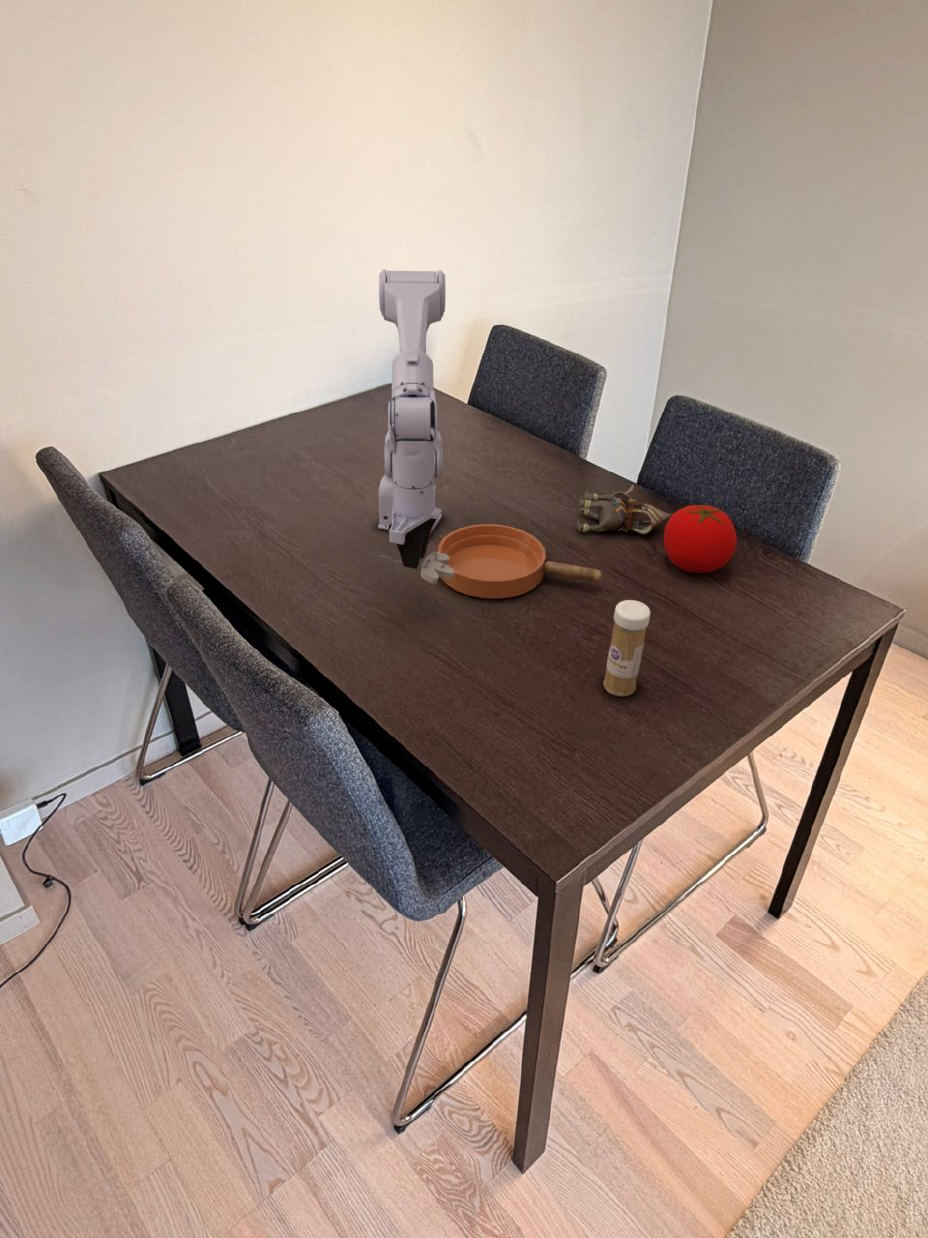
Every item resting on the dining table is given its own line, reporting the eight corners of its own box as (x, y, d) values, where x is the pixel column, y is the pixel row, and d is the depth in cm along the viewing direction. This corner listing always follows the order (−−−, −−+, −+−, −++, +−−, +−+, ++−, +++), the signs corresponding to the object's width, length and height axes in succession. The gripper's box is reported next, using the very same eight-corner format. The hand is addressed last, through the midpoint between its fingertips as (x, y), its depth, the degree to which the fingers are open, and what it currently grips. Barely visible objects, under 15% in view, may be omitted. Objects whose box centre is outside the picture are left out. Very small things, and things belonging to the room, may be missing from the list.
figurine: (586, 469, 163) (677, 481, 161) (582, 499, 166) (671, 510, 164) (576, 514, 147) (678, 527, 144) (572, 546, 150) (671, 560, 147)
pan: (422, 588, 139) (422, 569, 137) (455, 534, 153) (456, 516, 151) (529, 609, 135) (531, 589, 133) (553, 552, 149) (555, 534, 147)
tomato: (673, 586, 142) (685, 530, 135) (649, 547, 151) (659, 493, 145) (739, 582, 143) (753, 526, 137) (711, 543, 153) (723, 490, 147)
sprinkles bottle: (596, 688, 120) (608, 609, 113) (614, 672, 123) (627, 594, 115) (625, 703, 118) (639, 623, 110) (642, 686, 121) (657, 607, 113)
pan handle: (541, 574, 140) (542, 563, 139) (544, 568, 142) (545, 557, 141) (600, 585, 138) (601, 574, 137) (602, 578, 140) (603, 568, 139)
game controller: (453, 587, 129) (453, 574, 127) (375, 584, 128) (374, 570, 127) (454, 561, 133) (455, 548, 131) (378, 558, 132) (378, 545, 131)
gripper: (423, 508, 116) (423, 592, 124) (455, 462, 127) (454, 542, 135) (373, 499, 117) (377, 583, 125) (410, 455, 129) (411, 534, 137)
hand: (414, 561), depth 130 cm, fingers closed on game controller, 2 cm apart
